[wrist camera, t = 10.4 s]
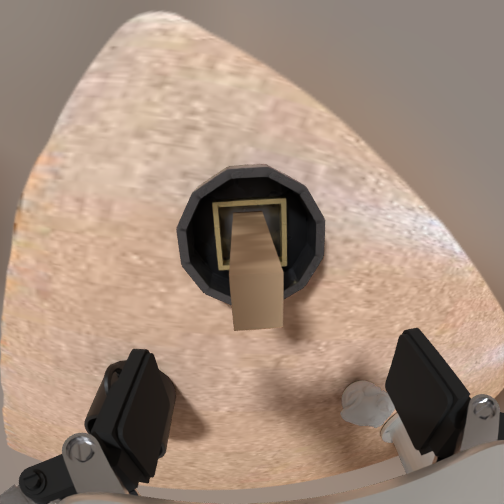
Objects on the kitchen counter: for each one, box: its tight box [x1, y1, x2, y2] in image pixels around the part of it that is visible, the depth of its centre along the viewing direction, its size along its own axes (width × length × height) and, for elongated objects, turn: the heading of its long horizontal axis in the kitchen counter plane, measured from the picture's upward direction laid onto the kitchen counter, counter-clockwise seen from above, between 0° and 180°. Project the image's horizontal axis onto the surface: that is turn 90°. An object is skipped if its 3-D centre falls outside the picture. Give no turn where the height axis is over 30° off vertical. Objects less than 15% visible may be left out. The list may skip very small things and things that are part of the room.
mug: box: [85, 360, 176, 459], centre depth 27 cm, size 9×12×9 cm
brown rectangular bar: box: [229, 211, 283, 331], centre depth 19 cm, size 2×3×12 cm
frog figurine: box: [340, 380, 395, 428], centre depth 30 cm, size 6×7×7 cm
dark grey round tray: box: [176, 164, 325, 305], centre depth 23 cm, size 11×11×4 cm
